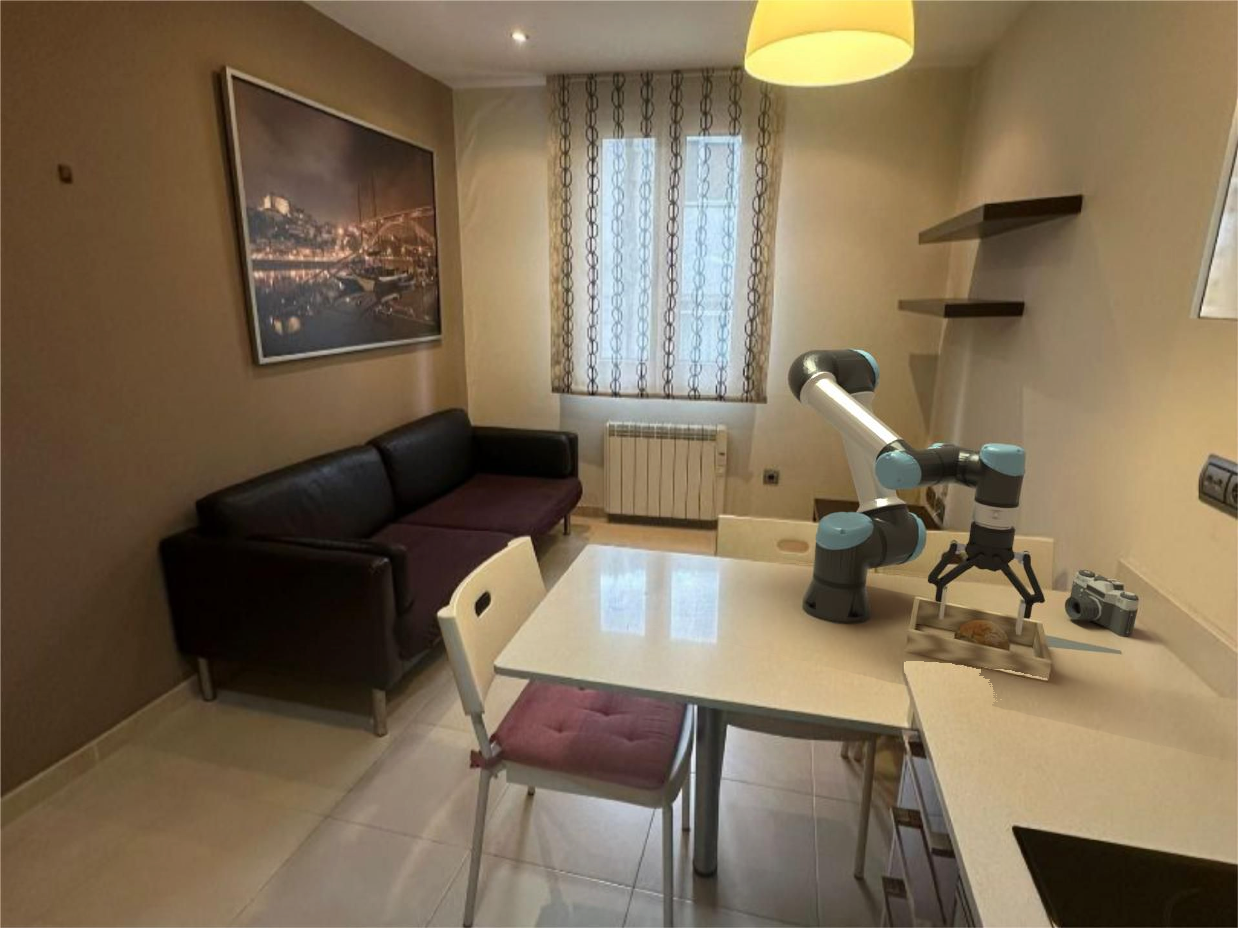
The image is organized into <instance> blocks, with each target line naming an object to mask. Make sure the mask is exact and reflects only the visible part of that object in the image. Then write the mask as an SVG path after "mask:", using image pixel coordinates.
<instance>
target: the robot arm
mask: <svg viewBox="0 0 1238 928" xmlns="http://www.w3.org/2000/svg"><path fill="white" fill-rule="evenodd" d="M880 374H881V373H880V369H879V365H878V363H877V361H876V360H875V358H874V357H873V356H872V355H871V354H870V353H869V352H866V351H864V350H861V349H855V348H854V349H853V348H844V349H813V350H808V351H805V352H803V353H802V354H800V355H798V356H797V357H796V358H795V359H794V361H793V362H792V363H791V365H790V367H789V370H788V374H787V382H788V384H787V385H788V387H789V389H790V392H791V394H792V395H793V396H794V398H796V400H797V401H798V402H799V403H801V405H803V407H805V408H808V409H814V410H815V412H817V414H818V415H820V416H821V417H822V418H823V419H824V420H825V421H827V422H828V423H829V424H830V425H831V426H832V427H833V428H834V429H836V431H837V432H838V433H840V437H841V441H842V443H843V447H844V451H845V455H846V458H847V462H848V467H849V469H850V474H851V478H852V482H853V484H854V487H855V491H856V495H857V500H858V504H859V507H858V508H857V510H856V512H855V511H849V512H846V511H838V512H833V513H829V514H827V515H825V516H823V517H822V518H821V519H820V520H819V522H818V524H817V530H816V531H817V532H816V534H815V547H814V561H813V572H812V579H811V581H810V583H809V585H808V587H807V590H806V592H805V593H804V595H803V597H802V605H801V607H802V610H803V612H805V613H806V614H807V615H809V616H810V617H813V618H815V619H818V620H821V621H824V622H829V623H834V624H843V625H856V624H863V623H865V622H867V621H869V620H870V618H871V615H872V609H871V604H870V603H871V602H870V600H869V595H868V591H867V588H866V587H867V586H866V584H867V576H868V570H872V569H873V570H874V569H879V568H884V567H890V566H900V565H903V564H906V563H909V562H913V561H915V560H917V559H918V558H919V557H920V556H921V555H922V554H923V550H924V549H925V547H926V544H927V529H926V526H925V524H924V522H923V520H922V519H921V517H918V516H917V515H916V514H915V513H913V512H910V510H909V508H908V505H907V502H906V501H904V500H903V499H901V498H899V497H898V495H897V491H896V490H900V491H903V490H905V491H907V490H911V489H917V488H925V487H933V486H942V485H951V484H953V485H958V486H963V487H966V488H970V489H973V490H974V489H975V492H974V500H973V507H972V514H971V519H972V520H973V521H972V522H971V523H970V530H969V534H968V536H969V537H968V542H967V543H966V544H964V543H961V542H960V543H959V542H958V541H957V540H955V539H953V540H951V541H950V544H949V548H948V550H947V552H946V553H945V554H944V555H943V556H942V557H941V559H940V560H939V561H938V563H937V564H936V565H935V567H934V568H933V569H932V570H931V572H930V573H929V574H928V575H927V583H929V584H930V585H931V584H932V585H934V586H935V587H936V590H935V596H934V597H935V598H934V600H936V602H941V606H940V614H939V619H942V620H943V617H944V609H945V602H946V600H947V592H948V584H950V583H951V582H953V581H955V579H957V578H958V577H959V576H961V575H963V574H964V573H965V572H967V571H969V570H970V569H972V568H973V567H975V568H977V569H978V570H981V571H982V570H988V571H990V572H999V571H1001V572H1002V574H1004V576H1005V577H1006V578H1007V579H1008V581H1009V582H1010V583H1011V584H1012V586H1013V587H1014V588H1015V590H1016V591H1017V593H1018V594H1019V595H1020V596H1021V597H1020V598H1019V604H1018V605H1019V606H1018V609H1017V616H1016V617H1017V622H1016V634H1017V635H1021V631H1022V625H1023V619H1024V618H1026V619H1031V617H1032V616H1031V615H1032V610H1033V605H1034V604H1037V603H1039V604H1043V603H1045V602H1046V599H1045V596H1044V593H1043V591H1042V588H1041V585H1040V583H1039V581H1038V578H1037V576H1036V574H1035V572H1034V569H1033V566H1032V563H1031V561H1032V557H1031V554H1030V551H1028V550H1024V551H1022V552H1021V551H1019V552H1018V551H1014V549H1013V548H1014V542H1015V535H1016V528H1015V526H1016V525H1017V522H1018V514H1019V507H1020V501H1021V500H1020V499H1021V497H1020V496H1021V492H1022V486H1023V481H1024V477H1025V474H1026V468H1025V467H1026V459H1027V458H1026V457H1027V454H1026V451H1025V449H1023V448H1022V447H1020V446H1018V445H1013V444H1007V443H995V442H994V443H986V444H984V445H982V447H981V449H980V450H976V449H971V448H967V447H964V446H963V447H962V446H958V445H955V444H953V443H943V442H937V443H933V444H932V445H930V446H929V447H927V448H923V449H920V448H919V449H917V448H915V447H914V446H912V445H911V444H910V443H909V442H908V441H906V440H905V439H904V438H902V436H900V435H898V433H896V432H895V431H894V430H893V429H892V428H890V427H889V426H888V425H887V424H886V423H884V422H883V421H882V420H881V419H880V418H878V417H877V416H876V415H875V414H874V410H873V407H872V402H873V400H874V398H875V396H876V393H875V390H876V389H877V388H878V385H879V384H880V383H879V379H880V376H881V375H880ZM963 551H964V552H965V554H966V555H967V557H966V558H965V559H963V561H962V562H960V563H958V564H957V565H956V566H955V567H953V568H952V569H950V570H948V572H946V573H945V574H943V575H942V576H940V575H941V574H942V573H943V572H944V570H945V569H946V568H947V567H948V565H950V563H951V562H952V560H953V559H954V558H955V556H956V555H959V554H961V552H963ZM1014 559H1016V560H1017V561H1018V564H1020V565H1023V570H1024V572H1025V574H1026V577H1027V579H1028V582H1029V584H1030V586H1031V589H1032V591H1033V594H1032V593H1030V591H1029V590H1028V589H1027V587H1026V585H1024V583H1023V582H1022V581H1021V580H1020V578H1019V577H1018V576H1017V574H1016V573H1015V572H1014V570H1013V569H1012V567H1011V565H1010V563H1011V562H1012V561H1013V560H1014ZM946 603H947V602H946Z"/></svg>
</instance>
